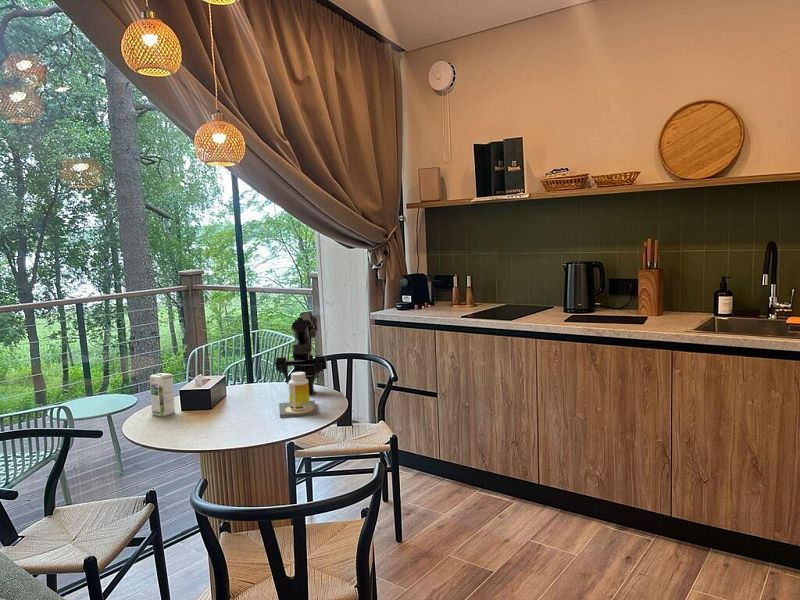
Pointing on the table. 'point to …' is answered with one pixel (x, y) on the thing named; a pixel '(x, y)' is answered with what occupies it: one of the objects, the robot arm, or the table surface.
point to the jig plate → (287, 412)
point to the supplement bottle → (298, 392)
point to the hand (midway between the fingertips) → (300, 383)
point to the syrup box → (162, 394)
